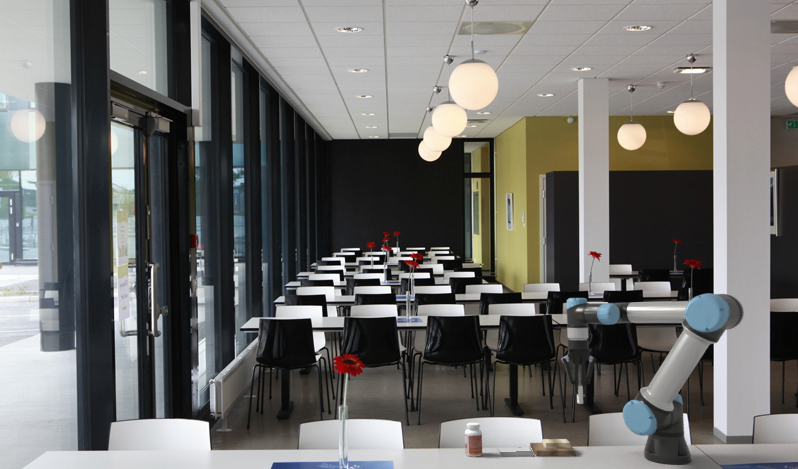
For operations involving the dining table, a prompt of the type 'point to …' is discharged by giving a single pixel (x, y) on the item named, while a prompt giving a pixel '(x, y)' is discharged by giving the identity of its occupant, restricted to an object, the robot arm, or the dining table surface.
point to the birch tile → (556, 443)
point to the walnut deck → (551, 451)
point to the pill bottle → (473, 440)
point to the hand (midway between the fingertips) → (580, 403)
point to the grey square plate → (517, 454)
